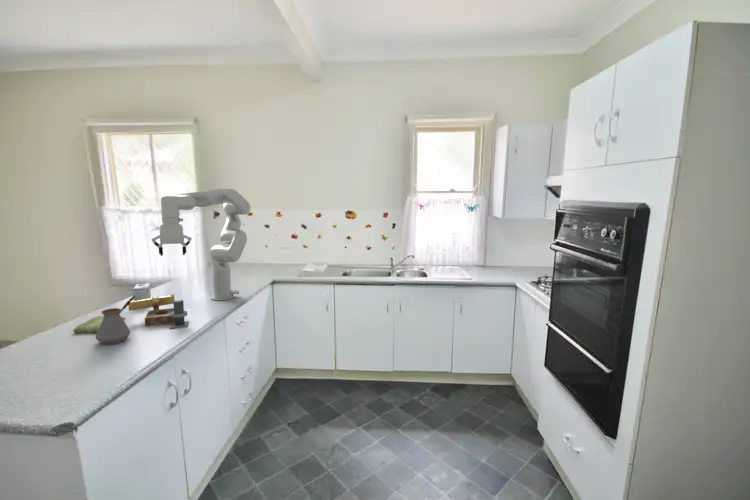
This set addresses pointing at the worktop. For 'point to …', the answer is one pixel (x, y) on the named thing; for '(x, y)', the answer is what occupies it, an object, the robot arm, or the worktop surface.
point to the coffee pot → (113, 326)
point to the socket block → (159, 317)
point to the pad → (179, 325)
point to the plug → (178, 312)
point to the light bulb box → (142, 291)
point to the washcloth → (90, 325)
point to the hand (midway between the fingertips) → (173, 255)
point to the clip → (151, 302)
